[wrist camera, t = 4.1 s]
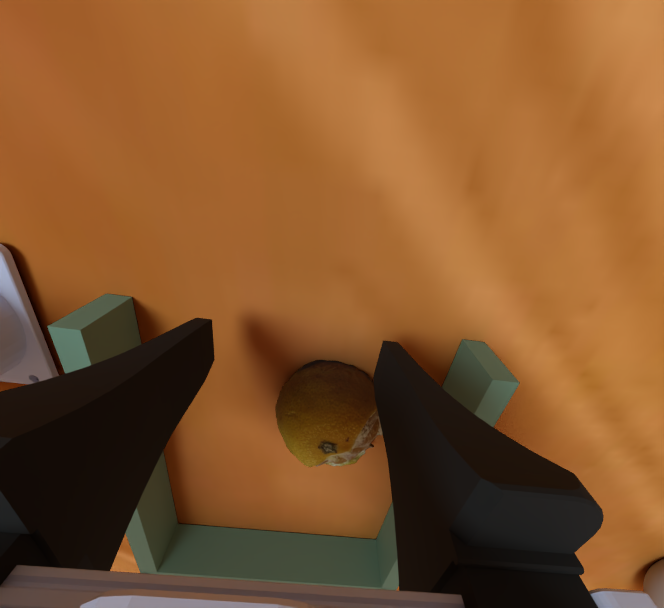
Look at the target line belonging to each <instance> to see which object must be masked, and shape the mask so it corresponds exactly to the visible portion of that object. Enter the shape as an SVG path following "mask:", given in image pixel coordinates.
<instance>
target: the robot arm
mask: <svg viewBox="0 0 664 608" xmlns="http://www.w3.org/2000/svg"><path fill="white" fill-rule="evenodd" d="M213 362H214V345H213V330H212V320H211V319H203V318H195V319H193V320H190V321H188V322H186V323H184V324H182V325H180V326H178V327H176V328H174V329H172V330H170V331H168V332H166V333H164V334H162V335H160V336H158V337H156V338H154V339H152V340H150V341H148V342H146V343H143V344H141V345H139V346H137V347H135V348H132V349H130V350H128V351H126V352H124V353H121V354H119V355H117V356H114V357H112V358H109V359H106V360H104V361H101V362H98V363H96V364H93V365H90V366H87V367H85V368H82V369H79V370H75V371H72V372H69V373H66V374H63V375H59V374H58V372H57V369H56V367H55V364H54V361H53V359H52V356H51V354H50V351H49V349H48V346H47V344H46V341H45V339H44V336H43V333H42V331H41V328H40V326H39V323H38V321H37V318H36V316H35V313H34V311H33V308H32V305H31V303H30V300H29V298H28V295H27V293H26V290H25V288H24V285H23V283H22V280H21V277H20V275H19V272H18V270H17V267H16V265H15V262H14V260H13V257H12V255H11V253H10V251H9V250H8V249H7V248H6V247H5V246H3V245H2V244H0V381H2V382H12V383H21V384H29V385H25V386H21V387H18V388H13V389H9V390H5V391H1V392H0V608H658V607H657V606H656V605H655V603H654V602H653V601H652V599H651V598H650V596H649V595H648V594H647V593H645V592H643V591H635V590H621V589H607V588H604V589H595V590H591V591H588V590H587V588H586V586H585V585H584V583H583V581H582V580H581V578H580V576H579V575H582V574H583V573H584V568H583V566H582V565H581V563H580V561H579V560H578V558H577V557H576V555H575V552H576V551H577V550H578V549H579V548H580V547H581V546H582V545H583V544H585V543H586V542H587V541H588V540H589V539H590V538H591V537H592V536H594V535H595V533H596V532H597V531H598V530H599V529H600V527H601V524H602V522H603V512H602V509H601V508H600V506H599V505H598V504H597V503H596V501H595V500H594V499H593V497H592V496H591V495H590V494H589V492H588V491H587V490H586V488H585V487H584V486H583V485H582V483H581V482H580V481H579V479H578V478H577V477H576V476H575V474H574V473H572V472H570V471H568V470H566V469H564V468H562V467H560V466H559V465H557V464H555V463H553V462H551V461H549V460H547V459H545V458H543V457H542V456H540V455H538V454H536V453H534V452H532V451H531V450H529V449H527V448H525V447H524V446H522V445H520V444H519V443H517V442H515V441H514V440H512V439H510V438H509V437H507V436H506V435H504V434H503V433H501V432H499V431H498V430H496V429H495V428H493V427H492V426H490V425H489V424H488V423H486V422H485V421H483V420H482V419H480V418H479V417H477V416H476V415H475V414H473V413H472V412H471V411H469V410H468V409H467V408H466V407H464V406H463V405H462V404H461V403H459V402H458V401H457V400H456V399H454V398H453V397H452V396H451V395H450V394H448V393H447V392H446V391H445V390H444V389H443V388H442V387H441V386H440V385H438V384H437V383H436V382H435V381H434V380H433V379H432V378H431V377H430V376H429V375H428V374H427V373H426V372H425V371H424V370H423V369H422V368H421V367H420V366H419V365H418V364H417V363H416V361H415V360H414V359H413V358H412V357H411V356H410V355H409V354H408V353H407V352H406V351H405V350H404V349H403V348H402V346H401V345H400V344H399V343H398V342H391V341H383V343H382V347H381V351H380V354H379V358H378V362H377V366H376V369H375V373H374V377H373V381H374V393H375V401H376V406H377V411H378V415H379V420H380V424H381V429H382V433H383V438H384V442H385V447H386V452H387V458H388V465H389V473H390V482H391V491H392V501H393V510H394V521H395V534H396V546H397V560H398V576H399V591H396V590H382V589H367V588H352V587H337V586H322V585H307V584H292V583H278V582H263V581H248V580H233V579H218V578H203V577H189V576H174V575H159V574H144V573H129V572H114V571H110V569H111V567H112V564H113V562H114V559H115V557H116V555H117V552H118V550H119V547H120V545H121V542H122V540H123V537H124V535H125V533H126V530H127V528H128V526H129V523H130V521H131V519H132V517H133V514H134V512H135V510H136V507H137V505H138V503H139V501H140V498H141V496H142V494H143V492H144V490H145V487H146V485H147V483H148V481H149V479H150V477H151V475H152V473H153V470H154V468H155V466H156V464H157V462H158V460H159V458H160V456H161V454H162V452H163V450H164V448H165V446H166V444H167V442H168V440H169V438H170V437H171V435H172V433H173V431H174V430H175V428H176V426H177V425H178V423H179V421H180V420H181V418H182V417H183V415H184V414H185V412H186V410H187V409H188V407H189V406H190V404H191V402H192V401H193V399H194V398H195V396H196V394H197V393H198V391H199V390H200V388H201V386H202V385H203V383H204V381H205V379H206V377H207V375H208V373H209V371H210V369H211V366H212V364H213Z"/></svg>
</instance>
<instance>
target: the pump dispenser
mask: <svg viewBox="0 0 664 608" xmlns="http://www.w3.org/2000/svg"><path fill="white" fill-rule="evenodd" d="M643 590H644V592H645V593H647V594H648V595H649V596H650V598H651V599H652V601H653V602H654V603H655V605H656V606H657V607H658V608H664V559H662V560H660V561H658V562H656V563H655V564H653V565H652V566H651V567H650V568H649V570H648V571H647V573H646V575H645V578H644V583H643Z"/></svg>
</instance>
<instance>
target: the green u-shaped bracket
mask: <svg viewBox="0 0 664 608" xmlns="http://www.w3.org/2000/svg"><path fill="white" fill-rule="evenodd" d="M47 327H48V330H49V332H50V335H51V337H52V340H53V343H54V345H55V348H56V351H57V353H58V356H59V359H60V361H61V364H62V367H63V369H64V372H65V374H66V373H69V372H72V371H75V370H79V369H82V368H85V367H87V366H90V365H93V364H96V363H98V362H101V361H104V360H106V359H109V358H112V357H114V356H117V355H119V354H121V353H124V352H126V351H128V350H130V349H132V348H135V347H137V346H139V345H141V339H140V334H139V329H138V324H137V319H136V315H135V310H134V305H133V300H132V297H128V296H120V295H113V294H105V295H103V296H101V297H99V298H97V299H96V300H94V301H92V302H90V303H88V304H87V305H85V306H83V307H81V308H79V309H78V310H76V311H74V312H72V313H70V314H69V315H67V316H65V317H63V318H61V319H59V320H58V321H56V322H54V323H52V324H50V325H49V326H47ZM518 385H519V381H518V380H517V379H516V378H515V377H514V376H513V375H512V373H511V372H510V371H509V370H508V369H507V368H506V366H505V365H504V364H503V363H502V362H501V361H500V359H499V358H498V357H497V356H496V355H495V354H494V353H493V351H492V350H491V349H490V348H489V347H488V346H487V344H486V343H485V342H479V341H471V340H463V339H462V342H461V344H460V346H459V349H458V351H457V353H456V356H455V358H454V360H453V363H452V365H451V367H450V369H449V372H448V374H447V376H446V379H445V381H444V383H443V386H442V388H443V389H444V390H445V391H446V392H447V393H448V394H450V395H451V396H452V397H453V398H454V399H456V400H457V401H458V402H459V403H461V404H462V405H463V406H464V407H466V408H467V409H468V410H469V411H471V412H472V413H473V414H475V415H476V416H477V417H479V418H480V419H482V420H483V421H485V422H486V423H488V424H489V425H490V426H492V427H494V425H495V424H496V422H497V420H498V419H499V417H500V415H501V414H502V412H503V410H504V409H505V407H506V405H507V404H508V402H509V400H510V398H511V397H512V395H513V393H514V392H515V390H516V388H517V387H518ZM126 536H127V538H128V541H129V544H130V546H131V549H132V552H133V554H134V557H135V560H136V562H137V565H138V567H139V570H140V573H144V574H159V575H174V576H189V577H203V578H218V579H233V580H248V581H263V582H278V583H292V584H307V585H322V586H337V587H352V588H367V589H382V590H397V588H398V586H399V576H398V560H397V546H396V534H395V521H394V510H393V501H392V504H391V506H390V508H389V511H388V513H387V515H386V518H385V520H384V522H383V524H382V527H381V529H380V531H379V534H378V536H377V538H376V540H375V539H362V538H350V537H338V536H325V535H313V534H300V533H288V532H276V531H263V530H251V529H238V528H226V527H214V526H201V525H189V524H178V521H177V516H176V511H175V506H174V501H173V496H172V491H171V486H170V481H169V476H168V472H167V467H166V462H165V457H164V452H162V454H161V456H160V458H159V460H158V462H157V464H156V466H155V468H154V470H153V473H152V475H151V477H150V479H149V481H148V483H147V485H146V487H145V490H144V492H143V494H142V496H141V498H140V501H139V503H138V505H137V507H136V510H135V512H134V514H133V517H132V519H131V521H130V523H129V526H128V528H127V530H126Z"/></svg>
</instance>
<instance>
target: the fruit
mask: <svg viewBox="0 0 664 608" xmlns="http://www.w3.org/2000/svg"><path fill="white" fill-rule="evenodd" d="M276 418H277V424H278V428H279V431H280V433H281V435H282V437H283V439H284V441H285V443H286V446H287V448H288V449H289V450H290V452H291V453H292V454H293V455H295V456H296V457H297V458H298V460H299V461H301V462H302V463H303V464H304V465H306V466H308V467H312V466H319V465H322V464H328V465H332V466H343V465H349V464H354V463H356V462H357V460H358V459H359V458H360V457H361V456H362V455H363V454H365V450H366V449H368V448H369V447H370V448H372V447H374V445H372V444H371V442H372V441H373V440H374V439H375V438H376V436H377V435H383V433H382V429H381V424H380V420H379V415H378V411H377V406H376V401H375V393H374V383H373V382H372V380H371V379H370V377H368V375H367V374H366V373H365V372H363V371H360V370H357V369H356V367H354V366H353V365H347V364H344V363H342V362H339V361H327V360H316V361H313V362H310V363H308V364H306V365H304V366H303V367H302V368H300V369H299V370H298V371H297V372H296V373H295V374H293V375H292V377H291V379H290V380H289V381H288V382H286V383H285V384H284V386H283V387H282V390H281V391H280V395H279V398H278V400H277V403H276Z"/></svg>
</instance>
